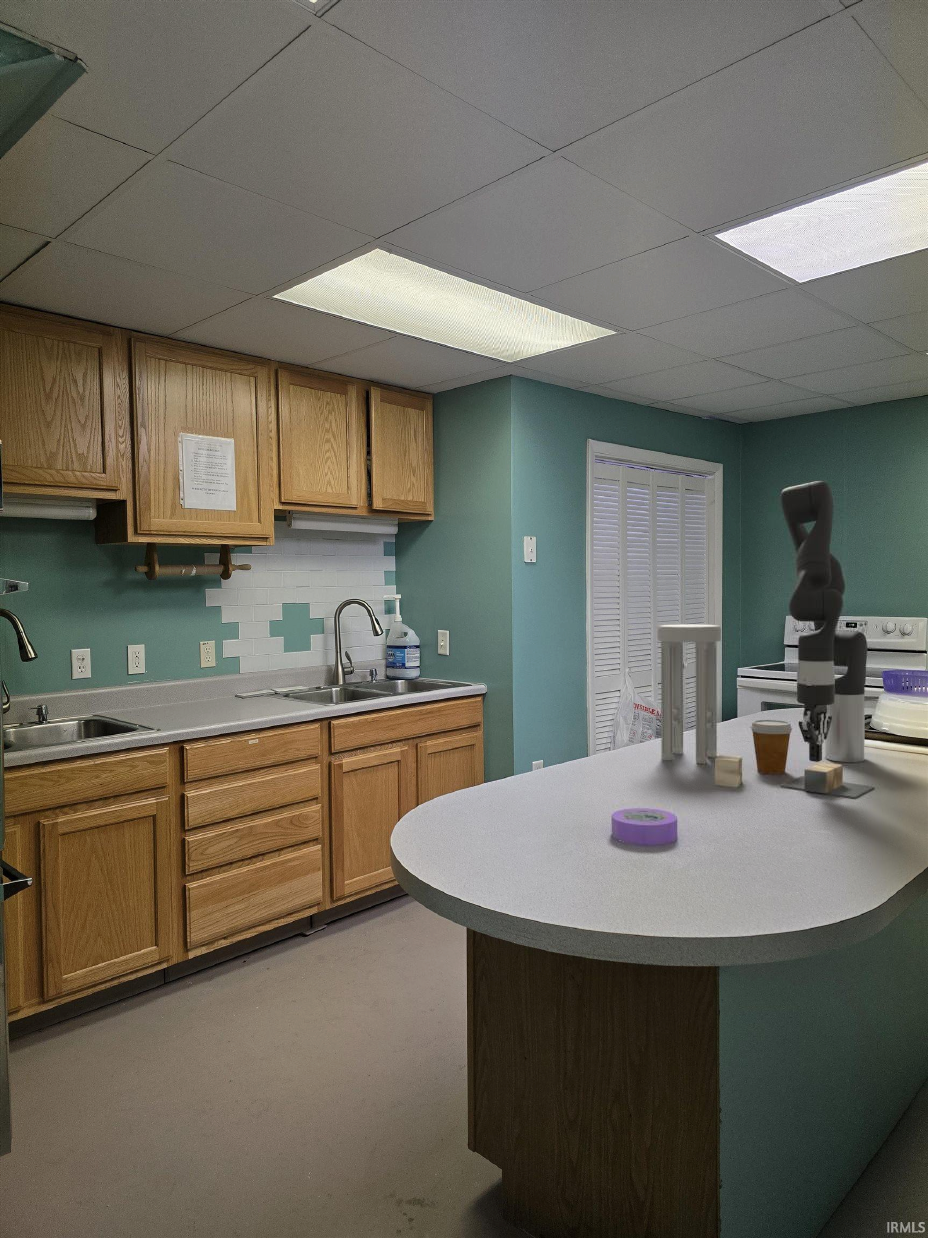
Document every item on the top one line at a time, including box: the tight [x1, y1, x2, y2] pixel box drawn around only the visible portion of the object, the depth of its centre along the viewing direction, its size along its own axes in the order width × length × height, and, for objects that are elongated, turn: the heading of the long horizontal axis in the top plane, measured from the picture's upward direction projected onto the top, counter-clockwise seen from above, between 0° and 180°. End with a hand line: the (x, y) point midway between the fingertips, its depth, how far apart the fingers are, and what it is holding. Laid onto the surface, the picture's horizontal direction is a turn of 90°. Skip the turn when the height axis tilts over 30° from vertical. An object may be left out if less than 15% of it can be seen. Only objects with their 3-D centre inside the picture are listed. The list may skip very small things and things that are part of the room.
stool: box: [657, 623, 722, 765], centre depth 215 cm, size 16×16×35 cm
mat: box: [779, 775, 875, 800], centre depth 182 cm, size 12×16×1 cm
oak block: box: [803, 761, 844, 794], centre depth 180 cm, size 4×4×10 cm
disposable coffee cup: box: [750, 719, 793, 775], centre depth 198 cm, size 10×10×12 cm
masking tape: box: [611, 807, 678, 846], centre depth 148 cm, size 12×12×4 cm
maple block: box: [714, 754, 743, 788], centre depth 187 cm, size 5×5×6 cm
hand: (815, 761), depth 177 cm, fingers closed
